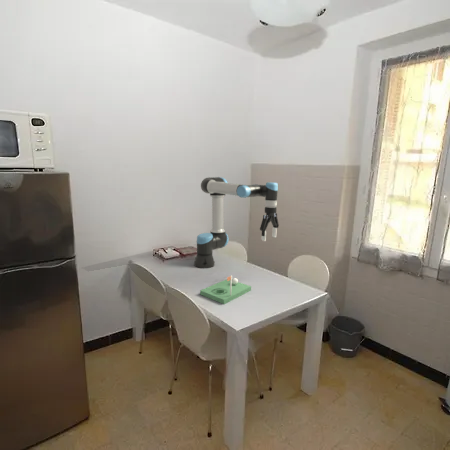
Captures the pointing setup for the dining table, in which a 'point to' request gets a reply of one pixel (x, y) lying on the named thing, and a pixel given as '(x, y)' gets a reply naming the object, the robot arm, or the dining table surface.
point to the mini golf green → (225, 291)
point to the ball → (234, 281)
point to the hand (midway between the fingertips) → (268, 239)
